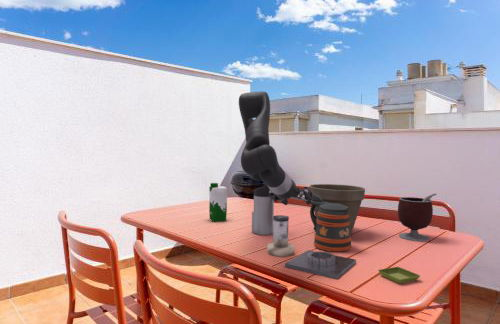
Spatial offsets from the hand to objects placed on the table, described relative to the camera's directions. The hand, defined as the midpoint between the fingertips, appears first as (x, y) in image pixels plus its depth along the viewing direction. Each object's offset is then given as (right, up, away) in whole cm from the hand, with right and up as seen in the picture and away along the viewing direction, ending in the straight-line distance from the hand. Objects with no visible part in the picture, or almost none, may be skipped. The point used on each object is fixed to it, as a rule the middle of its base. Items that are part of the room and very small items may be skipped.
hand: (297, 202), depth 125 cm
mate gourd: (+56, -19, +28) cm, 66 cm away
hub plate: (+7, -20, -8) cm, 23 cm away
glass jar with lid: (-6, -17, +5) cm, 19 cm away
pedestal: (-6, -19, +5) cm, 21 cm away
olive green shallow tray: (+28, -21, -19) cm, 40 cm away
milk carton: (-34, -17, +60) cm, 72 cm away
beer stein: (+14, -19, +15) cm, 28 cm away
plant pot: (+23, -19, +36) cm, 46 cm away
